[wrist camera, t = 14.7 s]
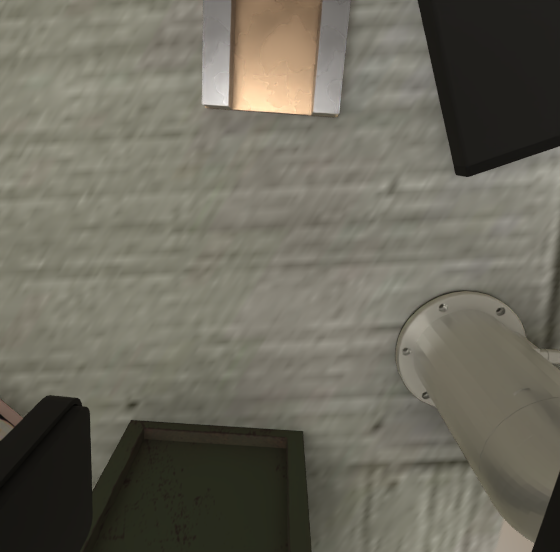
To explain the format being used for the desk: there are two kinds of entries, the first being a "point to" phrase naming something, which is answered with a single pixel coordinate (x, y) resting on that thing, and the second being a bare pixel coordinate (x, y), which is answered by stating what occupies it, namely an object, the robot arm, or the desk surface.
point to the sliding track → (274, 55)
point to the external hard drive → (495, 78)
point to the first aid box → (202, 491)
